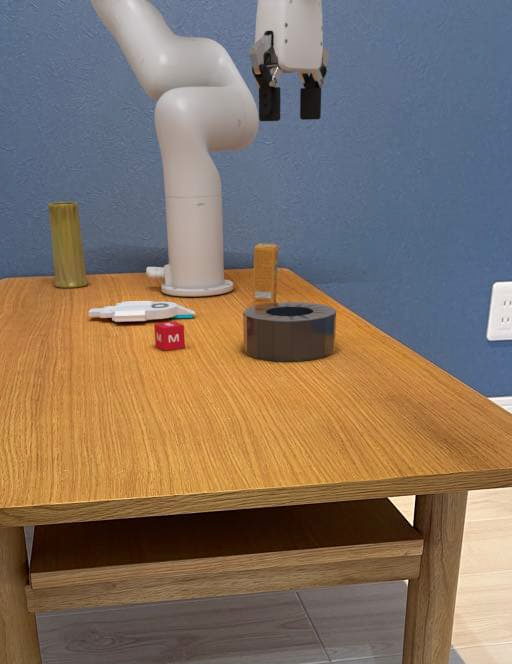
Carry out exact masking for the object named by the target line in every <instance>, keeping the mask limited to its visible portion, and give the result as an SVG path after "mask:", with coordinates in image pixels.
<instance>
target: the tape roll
mask: <svg viewBox="0 0 512 664" xmlns="http://www.w3.org/2000/svg"><path fill="white" fill-rule="evenodd" d="M242 315H243V316H242V323H243V324H242V325H243V327H242V328H243V330H242V331H243V333H242V334H243V350H244V353H245V354H246V355H247V356H249V357H251V358H253V359H257V360H261V361H266V362H267V361H268V362H277V363H278V362H279V363H280V362H281V363H293V362H294V363H295V362H309V361H314V360H320V359H323V358H326V357H329V356H331V355H333V354H334V353H335V348H336V333H337V331H336V328H337V309H335V308H334V307H332V306H329V305H325V304H322V303H313V302H305V301H303V302H301V301H284V302H283V301H281V302H276V303H269V304H262V305H257V306H253V305H252V306H251V307H248V308H247V307H246V309H245V310H244V311H243V312H242Z"/></svg>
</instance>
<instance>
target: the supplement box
mask: <svg viewBox="0 0 512 664" xmlns="http://www.w3.org/2000/svg"><path fill="white" fill-rule="evenodd" d="M278 259H279V244H275V243H262V242H261V243H257V245H255V246H254V250H253V279H252V281H253V287H252V289H253V290H252V307H253V306H257V305H262V304H269V303H277V290H278V289H277V288H278V262H279V261H278Z"/></svg>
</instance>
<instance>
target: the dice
mask: <svg viewBox="0 0 512 664" xmlns="http://www.w3.org/2000/svg"><path fill="white" fill-rule="evenodd" d="M153 325H154V327H153V328H154V341H155V343H154V344H155V347H156V348H158V349H160V350H161V351H164V352H167V351H172V350H181V349H185V348H186V343H185V342H186V341H185V325H184V324H181V323H180V322H178V321H176V320H174V321H166V322H158V323H153Z"/></svg>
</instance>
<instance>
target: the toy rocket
mask: <svg viewBox="0 0 512 664" xmlns="http://www.w3.org/2000/svg"><path fill="white" fill-rule="evenodd" d="M195 314H196V311H194V310H192V309H189V308H187V307H184V306H182V305H179V304H178V303H176V302H172V301H153V300H135V301H134V300H131V301H121V302H117V303H116V304H115V305H106V306H104V307H98V308H97V307H93V308H90V310H88V317H99V318H100V319H108V318H111V320H112V321H114V323H121V322H147V321H153V320H164V319H169V318H171V319H193V318H194V315H195Z"/></svg>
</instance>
